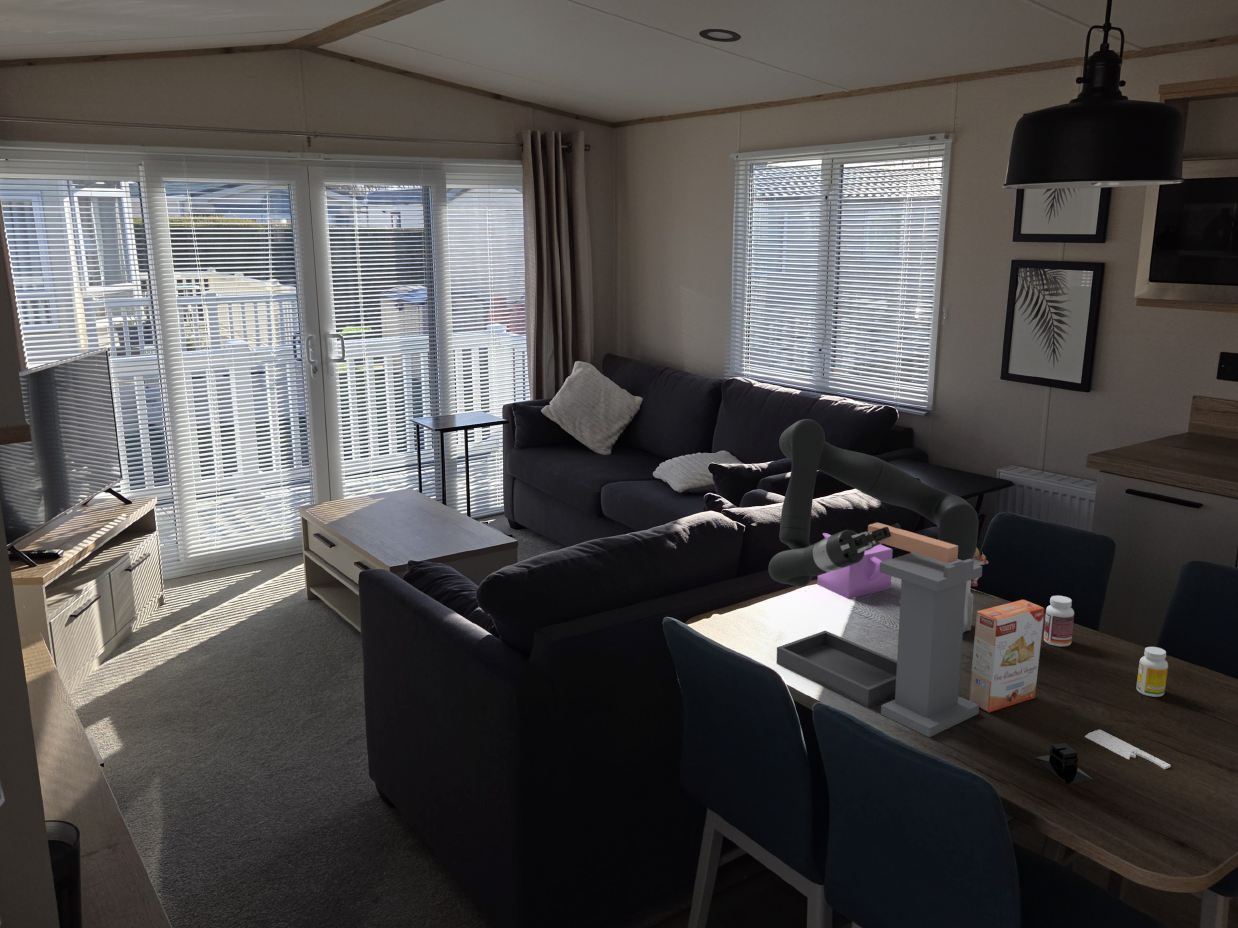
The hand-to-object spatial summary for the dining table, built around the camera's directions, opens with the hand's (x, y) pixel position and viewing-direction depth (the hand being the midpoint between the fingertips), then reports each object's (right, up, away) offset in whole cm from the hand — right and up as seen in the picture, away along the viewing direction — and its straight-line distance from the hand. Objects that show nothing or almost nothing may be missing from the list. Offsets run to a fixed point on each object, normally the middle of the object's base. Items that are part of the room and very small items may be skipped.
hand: (893, 529), depth 203 cm
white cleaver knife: (+40, -42, -16) cm, 60 cm away
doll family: (+35, -20, +73) cm, 83 cm away
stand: (+6, -38, +1) cm, 38 cm away
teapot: (+8, -21, +73) cm, 76 cm away
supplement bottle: (+57, -35, +8) cm, 68 cm away
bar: (+3, -4, -3) cm, 5 cm away
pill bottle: (+49, -29, +33) cm, 66 cm away
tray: (-6, -34, +18) cm, 39 cm away
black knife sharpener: (+25, -43, -21) cm, 55 cm away
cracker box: (+24, -37, +5) cm, 44 cm away
